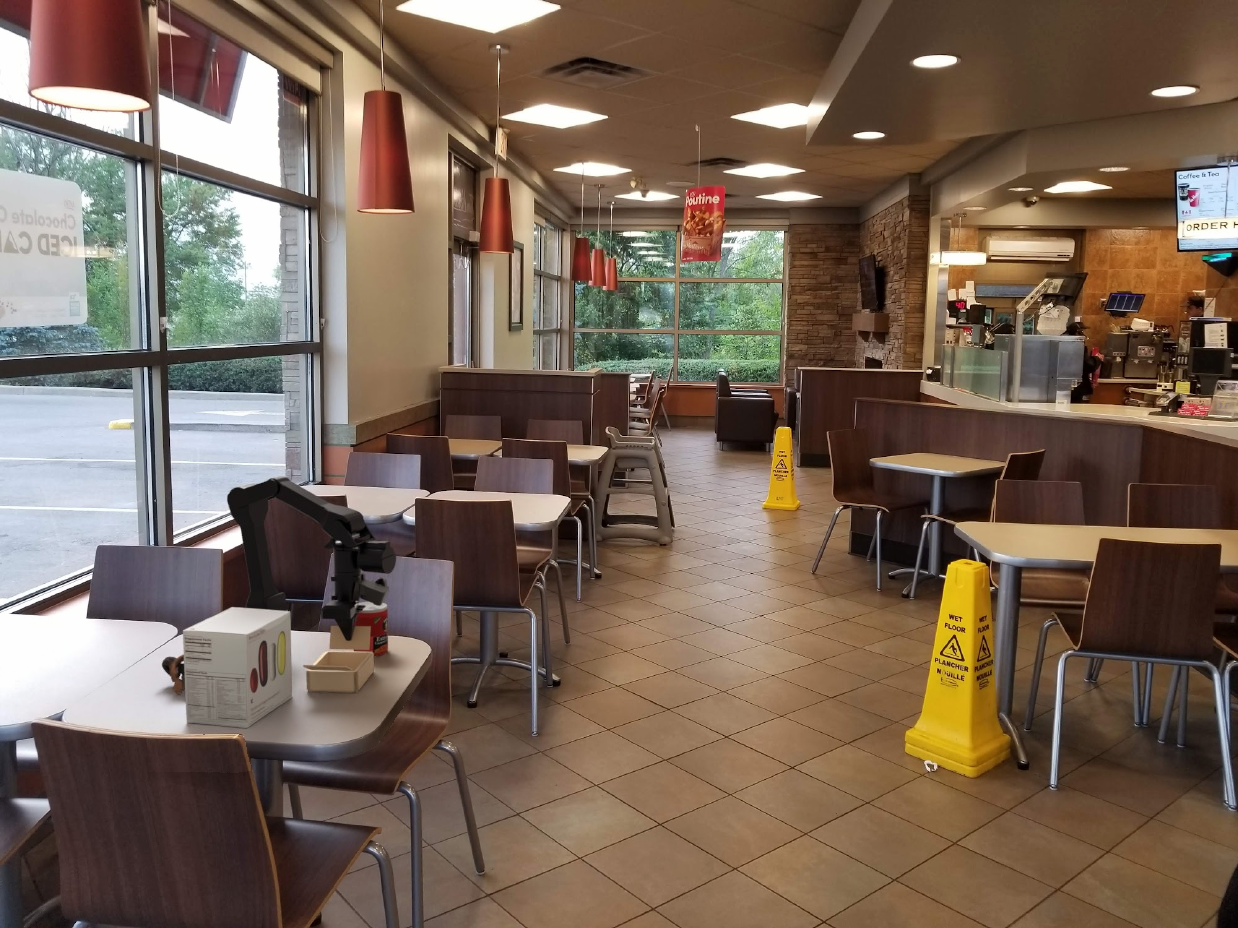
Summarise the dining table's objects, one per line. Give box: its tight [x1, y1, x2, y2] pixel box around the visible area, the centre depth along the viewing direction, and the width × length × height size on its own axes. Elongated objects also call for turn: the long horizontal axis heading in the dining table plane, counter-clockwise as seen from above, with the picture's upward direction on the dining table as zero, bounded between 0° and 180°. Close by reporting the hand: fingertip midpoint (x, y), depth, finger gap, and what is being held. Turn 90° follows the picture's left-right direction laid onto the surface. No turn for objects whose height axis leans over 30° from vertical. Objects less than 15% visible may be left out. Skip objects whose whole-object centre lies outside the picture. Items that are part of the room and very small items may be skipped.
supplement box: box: [182, 606, 293, 729], centre depth 191 cm, size 17×13×18 cm
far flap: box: [328, 625, 371, 651], centre depth 214 cm, size 9×5×1 cm
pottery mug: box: [161, 653, 185, 696], centre depth 203 cm, size 12×10×8 cm
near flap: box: [302, 664, 353, 671], centre depth 199 cm, size 9×5×1 cm, turn 89°
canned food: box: [353, 601, 389, 657], centre depth 227 cm, size 8×8×11 cm
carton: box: [305, 650, 375, 694], centre depth 208 cm, size 11×13×4 cm
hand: (348, 640), depth 213 cm, fingers closed
